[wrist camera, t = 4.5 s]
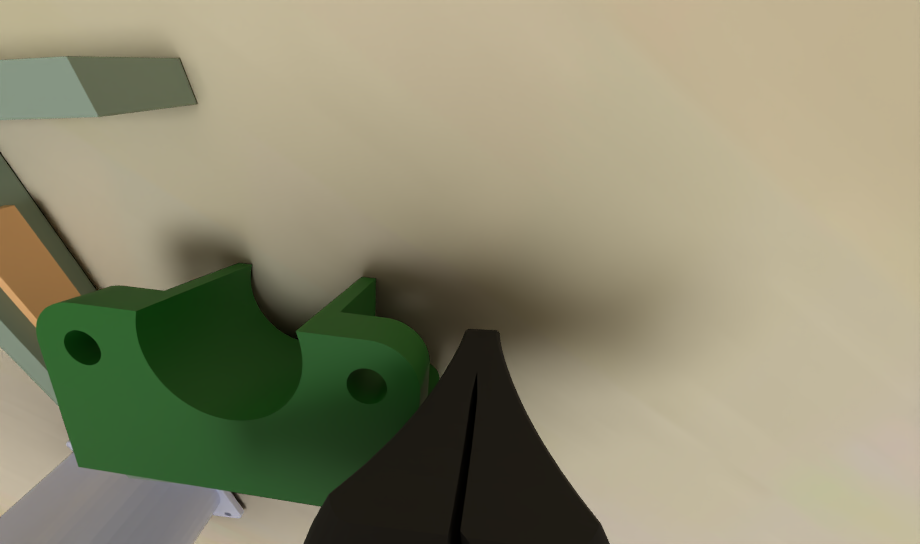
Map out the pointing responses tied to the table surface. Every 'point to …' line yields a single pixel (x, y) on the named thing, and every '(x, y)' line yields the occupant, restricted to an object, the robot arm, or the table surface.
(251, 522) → the table surface
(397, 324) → the clamp
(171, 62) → the bracket
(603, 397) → the table surface
